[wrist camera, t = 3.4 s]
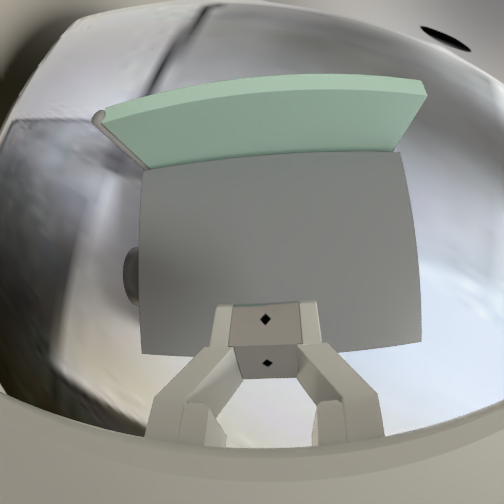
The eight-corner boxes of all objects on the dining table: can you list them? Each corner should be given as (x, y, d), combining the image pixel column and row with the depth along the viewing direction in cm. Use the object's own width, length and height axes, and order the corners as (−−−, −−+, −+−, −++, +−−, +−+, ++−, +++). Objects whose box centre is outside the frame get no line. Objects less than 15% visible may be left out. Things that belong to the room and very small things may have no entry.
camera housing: (376, 183, 26) (399, 152, 20) (390, 331, 24) (421, 341, 18) (155, 199, 29) (122, 174, 22) (156, 340, 27) (119, 351, 20)
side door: (368, 158, 27) (415, 66, 13) (372, 180, 27) (427, 95, 13) (170, 173, 29) (97, 97, 15) (169, 195, 29) (89, 127, 15)
